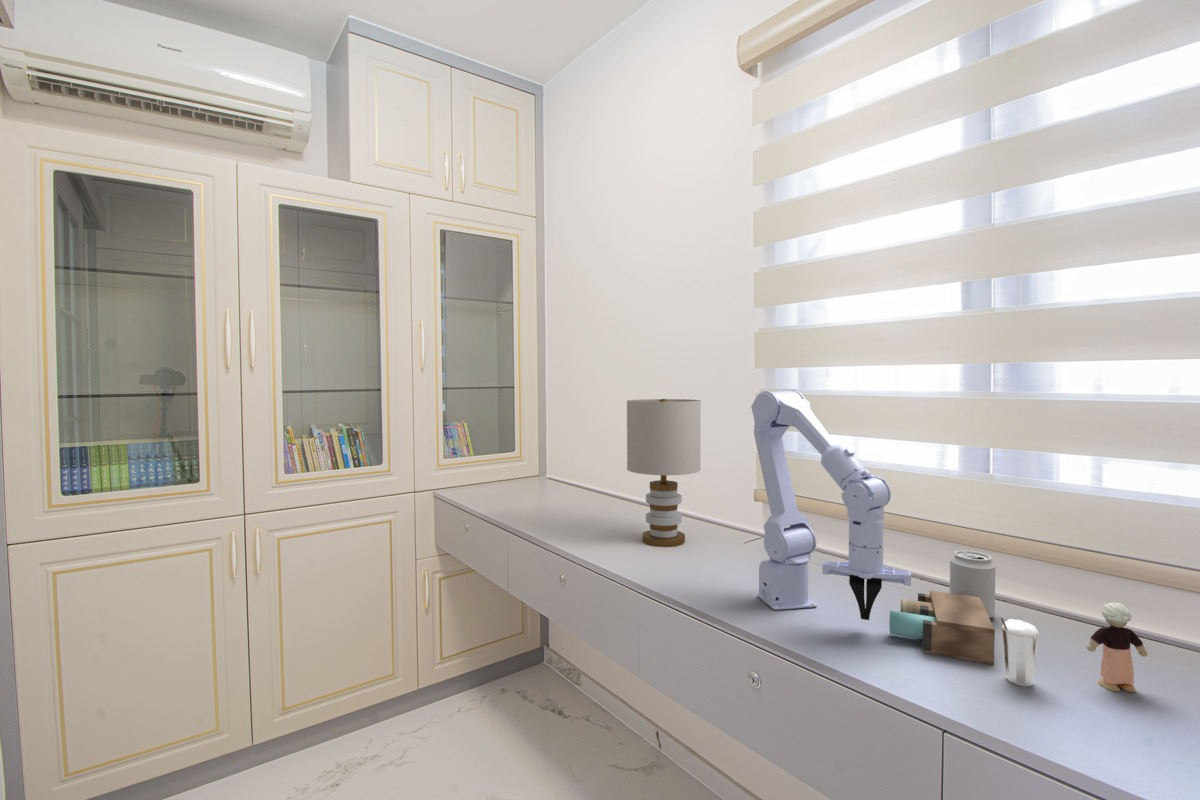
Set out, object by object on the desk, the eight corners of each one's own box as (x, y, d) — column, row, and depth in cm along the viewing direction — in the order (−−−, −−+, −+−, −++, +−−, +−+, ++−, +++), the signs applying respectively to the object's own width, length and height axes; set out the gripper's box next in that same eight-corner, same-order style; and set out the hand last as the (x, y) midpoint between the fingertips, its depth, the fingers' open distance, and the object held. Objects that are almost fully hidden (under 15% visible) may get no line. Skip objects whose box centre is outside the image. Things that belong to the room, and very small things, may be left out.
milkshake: (989, 674, 89) (990, 611, 88) (1021, 672, 89) (1022, 610, 89) (1012, 690, 84) (1013, 624, 84) (1046, 688, 85) (1047, 622, 84)
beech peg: (901, 624, 106) (901, 602, 105) (900, 616, 109) (900, 595, 109) (964, 634, 101) (965, 612, 101) (961, 625, 105) (962, 604, 105)
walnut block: (923, 652, 96) (923, 618, 96) (917, 618, 110) (917, 588, 109) (994, 664, 92) (994, 629, 92) (979, 628, 105) (979, 597, 105)
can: (980, 625, 106) (981, 562, 106) (941, 611, 113) (941, 551, 113) (1003, 617, 110) (1004, 556, 109) (963, 604, 116) (964, 546, 116)
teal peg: (889, 637, 100) (890, 615, 100) (889, 628, 104) (889, 606, 104) (956, 648, 96) (956, 625, 96) (953, 639, 99) (953, 616, 99)
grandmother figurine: (1126, 679, 87) (1128, 597, 87) (1151, 693, 83) (1153, 608, 83) (1077, 680, 87) (1079, 598, 86) (1100, 694, 83) (1102, 609, 83)
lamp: (660, 527, 178) (660, 397, 177) (715, 541, 163) (715, 398, 162) (612, 540, 164) (611, 399, 163) (667, 556, 149) (667, 400, 147)
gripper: (821, 544, 103) (820, 618, 103) (912, 555, 96) (911, 634, 97) (824, 535, 109) (824, 604, 110) (910, 544, 103) (909, 618, 103)
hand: (865, 617), depth 104 cm, fingers closed
